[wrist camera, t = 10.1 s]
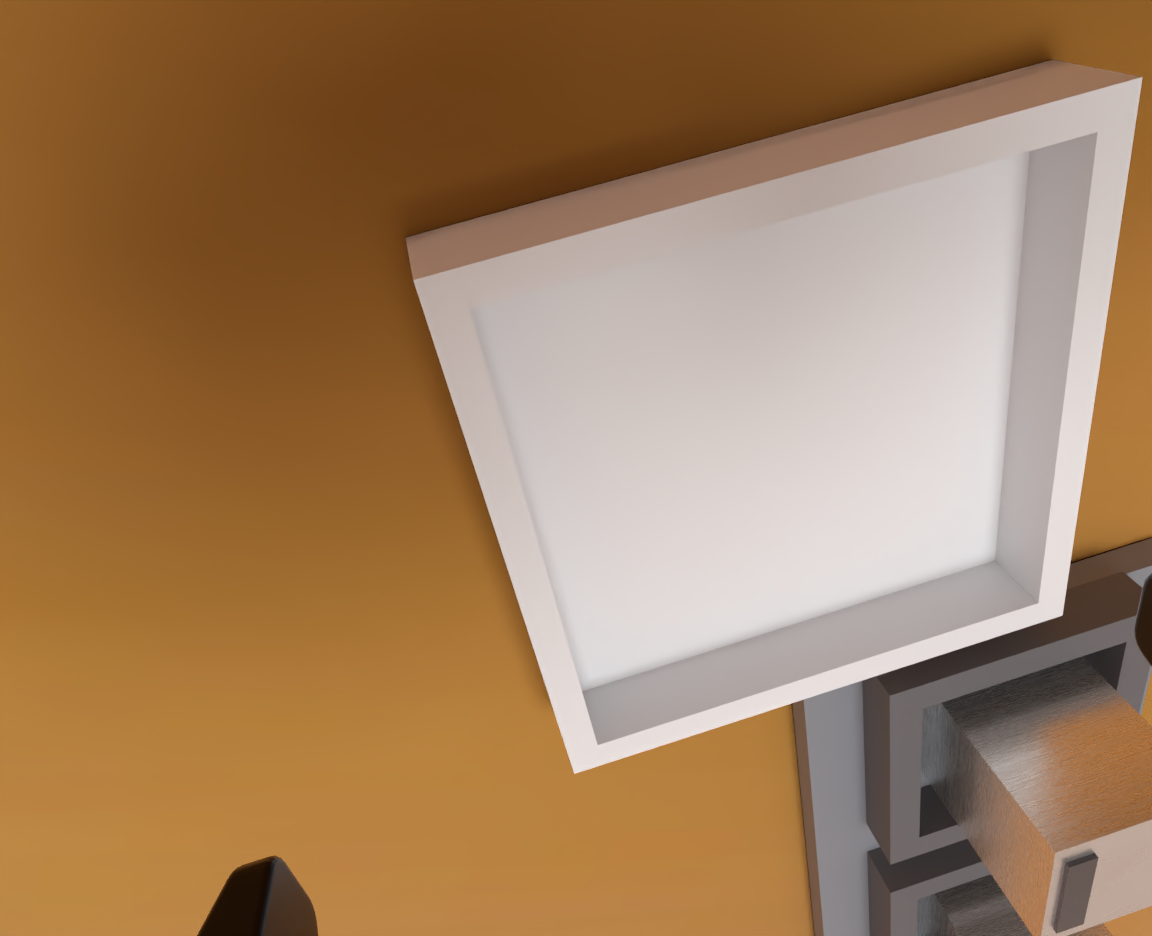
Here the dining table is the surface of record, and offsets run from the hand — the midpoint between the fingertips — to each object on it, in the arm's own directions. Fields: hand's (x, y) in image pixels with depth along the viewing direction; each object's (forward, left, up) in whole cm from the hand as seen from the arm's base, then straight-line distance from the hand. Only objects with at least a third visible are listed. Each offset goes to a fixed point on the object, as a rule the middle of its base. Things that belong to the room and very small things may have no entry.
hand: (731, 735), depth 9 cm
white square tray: (-5, +5, -12) cm, 14 cm away
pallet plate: (-11, +22, -12) cm, 27 cm away
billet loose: (-11, +17, -11) cm, 23 cm away
